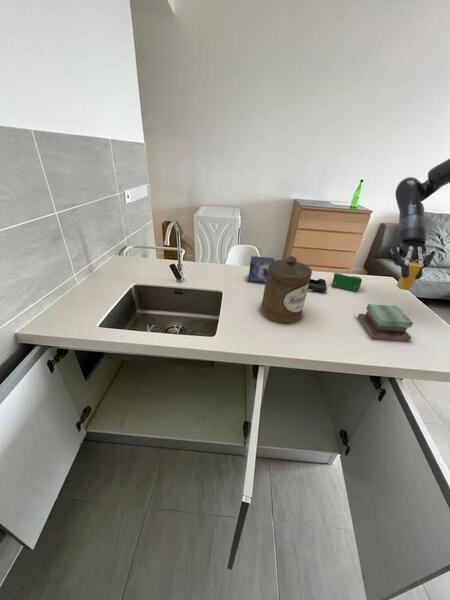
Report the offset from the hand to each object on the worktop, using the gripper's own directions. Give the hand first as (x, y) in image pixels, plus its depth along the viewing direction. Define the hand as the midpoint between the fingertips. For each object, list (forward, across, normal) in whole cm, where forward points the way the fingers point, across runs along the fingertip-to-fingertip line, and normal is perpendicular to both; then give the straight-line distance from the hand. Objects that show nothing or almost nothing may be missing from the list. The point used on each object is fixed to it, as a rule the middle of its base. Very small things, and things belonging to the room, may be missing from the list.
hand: (411, 277), depth 81 cm
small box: (-1, -50, +27) cm, 57 cm away
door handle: (-3, -30, +29) cm, 41 cm away
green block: (-5, -11, +30) cm, 33 cm away
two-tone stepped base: (+17, -5, +8) cm, 20 cm away
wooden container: (+16, -40, +10) cm, 44 cm away
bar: (+2, 0, +5) cm, 5 cm away
